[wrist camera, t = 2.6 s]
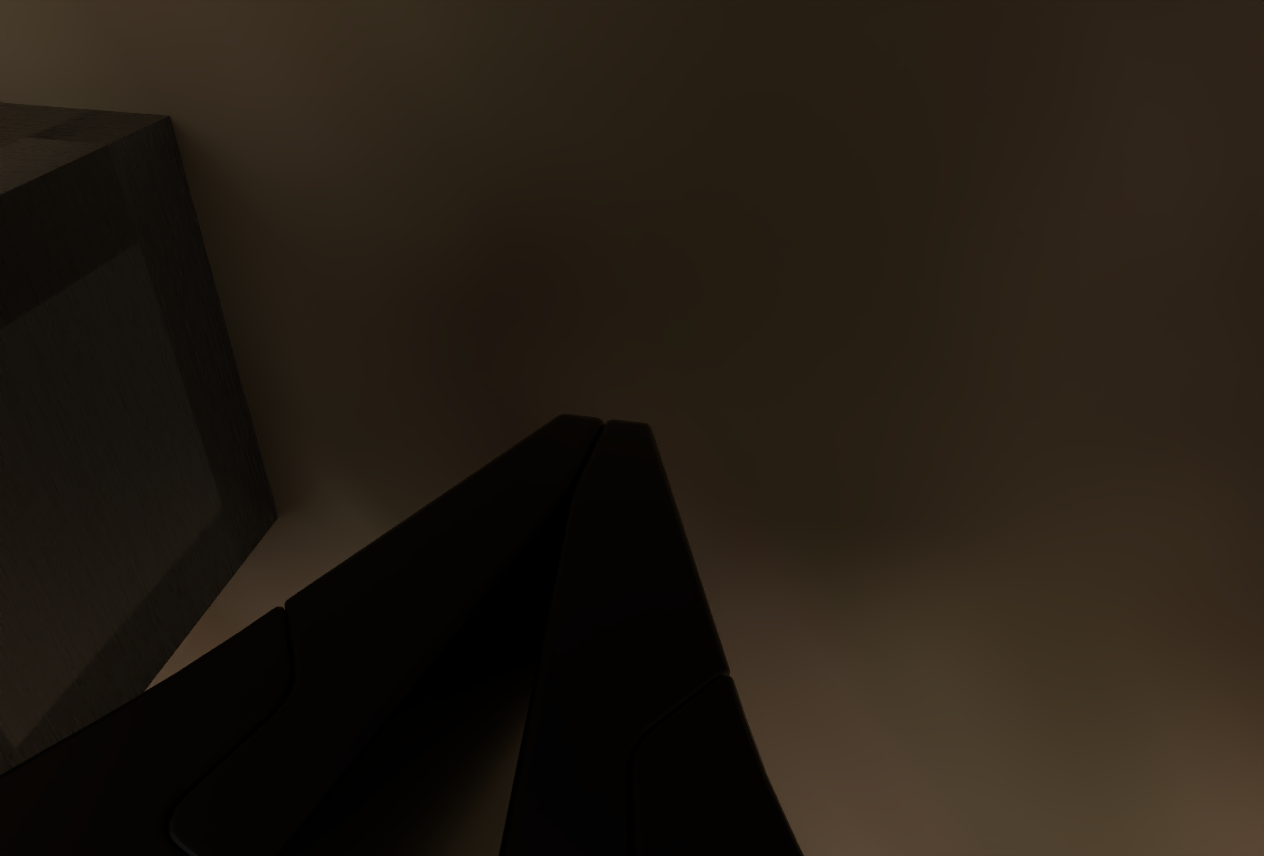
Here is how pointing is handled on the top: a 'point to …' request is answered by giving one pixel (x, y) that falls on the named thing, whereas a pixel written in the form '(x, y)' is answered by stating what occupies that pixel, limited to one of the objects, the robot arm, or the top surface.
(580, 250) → the top surface
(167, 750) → the robot arm
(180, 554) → the dark-topped grey cube
